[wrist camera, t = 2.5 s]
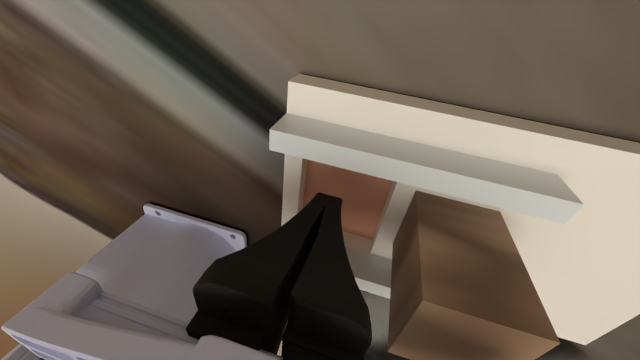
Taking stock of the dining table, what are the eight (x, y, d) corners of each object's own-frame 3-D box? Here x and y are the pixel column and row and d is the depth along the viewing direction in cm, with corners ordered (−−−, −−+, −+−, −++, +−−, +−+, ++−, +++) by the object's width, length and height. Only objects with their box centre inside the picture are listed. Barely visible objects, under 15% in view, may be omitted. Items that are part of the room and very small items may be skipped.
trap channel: (287, 236, 20) (268, 274, 17) (299, 73, 13) (269, 93, 10) (572, 321, 17) (605, 383, 14) (790, 173, 10) (941, 240, 7)
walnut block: (392, 242, 15) (387, 351, 11) (415, 190, 13) (422, 300, 8) (462, 262, 15) (490, 387, 10) (500, 211, 12) (560, 343, 8)
